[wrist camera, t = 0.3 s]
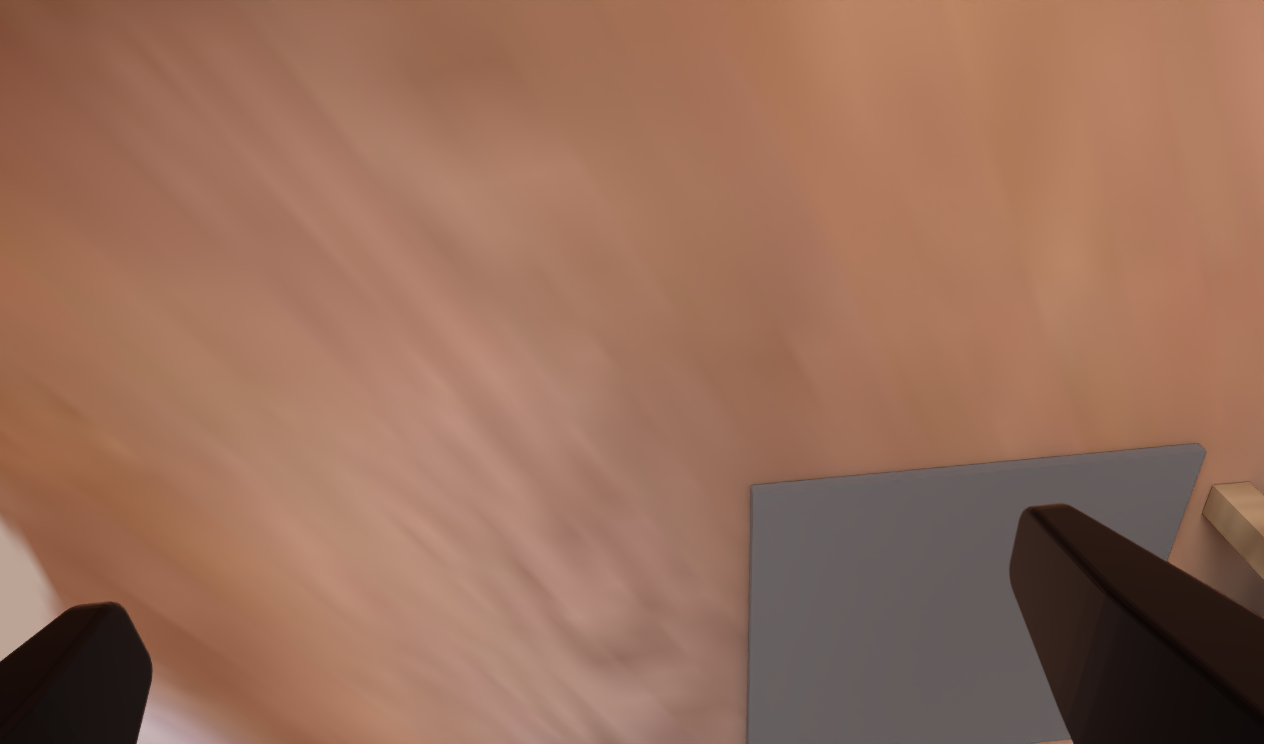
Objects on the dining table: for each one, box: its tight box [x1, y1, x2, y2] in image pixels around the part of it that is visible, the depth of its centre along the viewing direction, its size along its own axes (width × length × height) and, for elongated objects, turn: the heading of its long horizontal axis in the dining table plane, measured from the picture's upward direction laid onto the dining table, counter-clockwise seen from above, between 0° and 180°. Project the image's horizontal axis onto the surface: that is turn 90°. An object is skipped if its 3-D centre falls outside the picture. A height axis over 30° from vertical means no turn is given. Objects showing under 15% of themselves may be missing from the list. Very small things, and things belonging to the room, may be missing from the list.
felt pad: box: [746, 443, 1206, 744], centre depth 31 cm, size 14×14×1 cm
